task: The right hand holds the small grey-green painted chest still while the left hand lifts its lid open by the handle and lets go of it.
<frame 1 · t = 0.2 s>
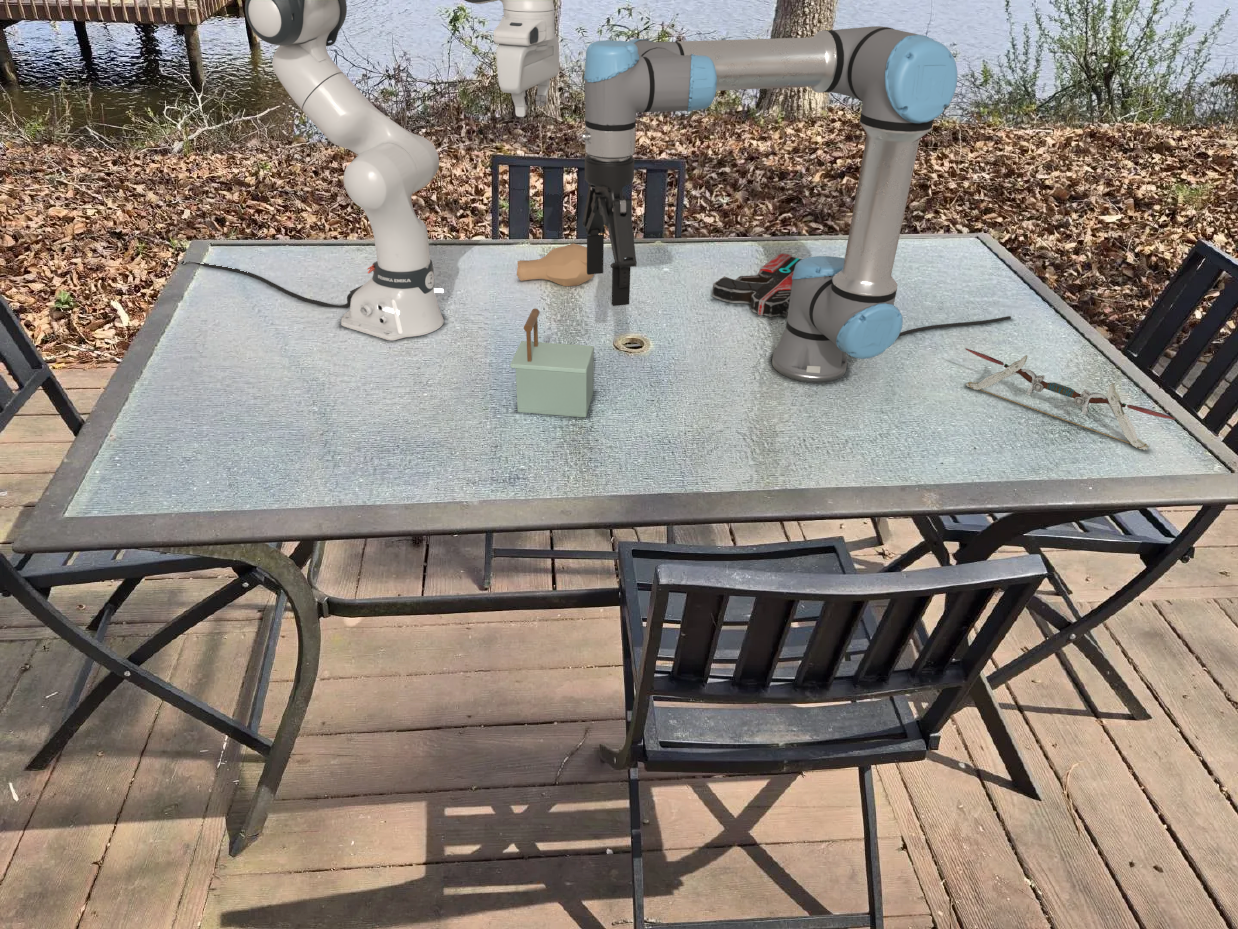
left hand: (531, 110, 161), 48 cm above the table, tool pointing down, fingers open, 8 cm apart
right hand: (607, 288, 144), 28 cm above the table, tool pointing down, fingers open, 13 cm apart
gun: (770, 291, 216), on the table
bow: (1051, 416, 168), on the table
squash: (556, 281, 218), on the table
chest: (556, 402, 168), on the table
lid: (552, 338, 161), point 13 cm above the table, hinge at 0.0°
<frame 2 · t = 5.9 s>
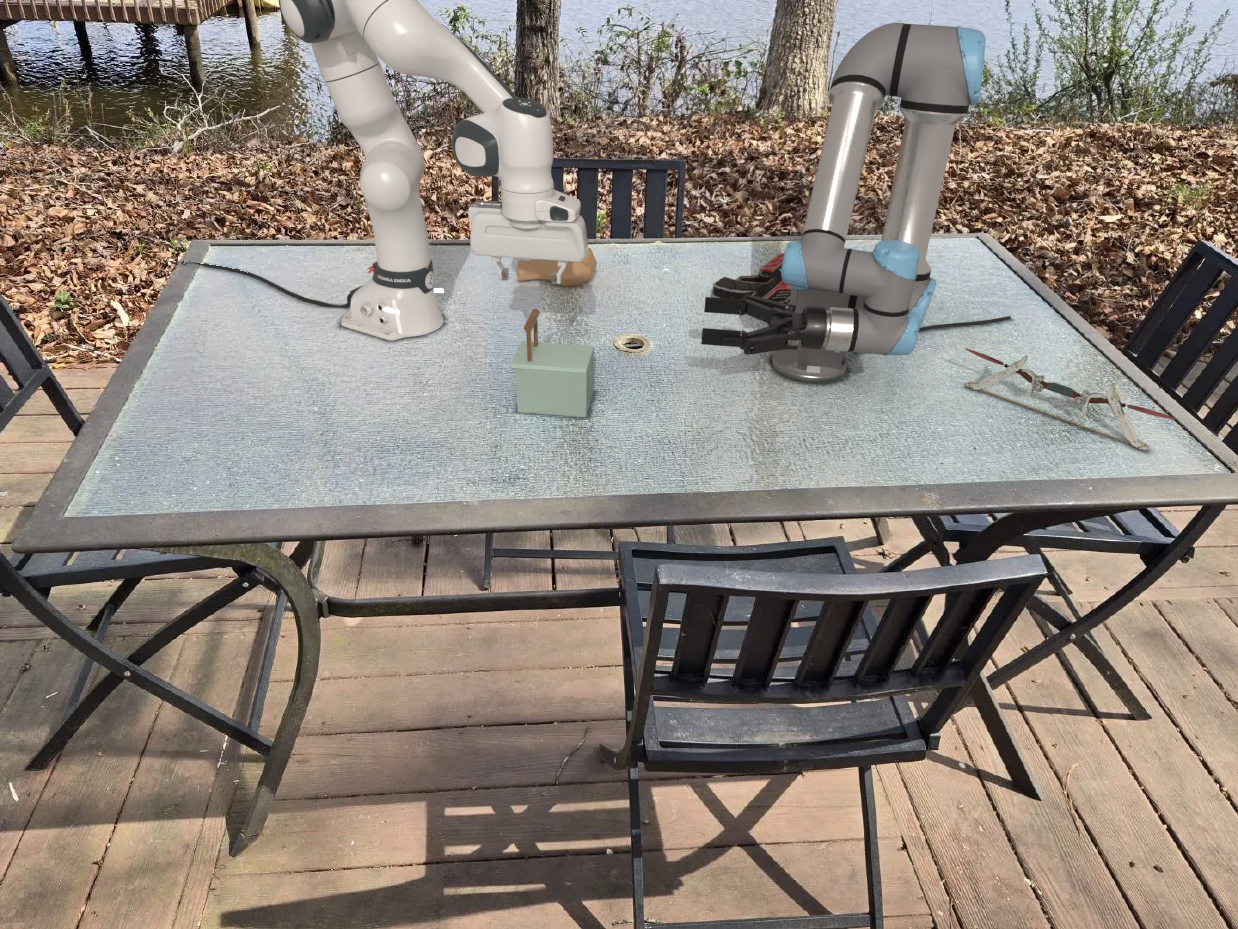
left hand: (530, 281, 155), 24 cm above the table, tool pointing down, fingers open, 8 cm apart
right hand: (703, 319, 155), 19 cm above the table, tool horizontal, fingers open, 13 cm apart
nothing on the table moved.
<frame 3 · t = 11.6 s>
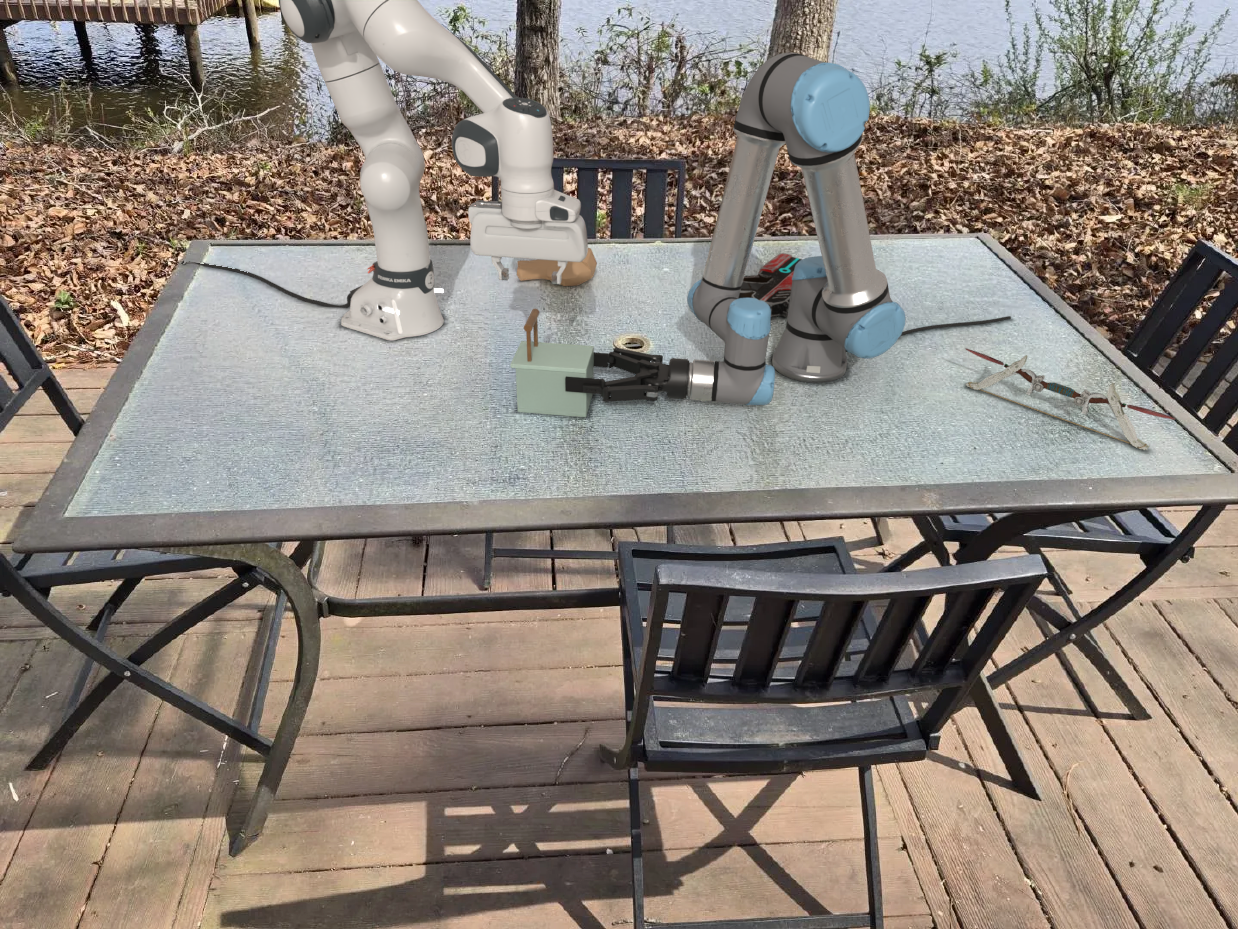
left hand: (530, 281, 155), 24 cm above the table, tool pointing down, fingers open, 8 cm apart
right hand: (570, 370, 164), 7 cm above the table, tool horizontal, fingers closed on chest, 10 cm apart
chest: (556, 402, 168), on the table, touching right hand
everything else where it was.
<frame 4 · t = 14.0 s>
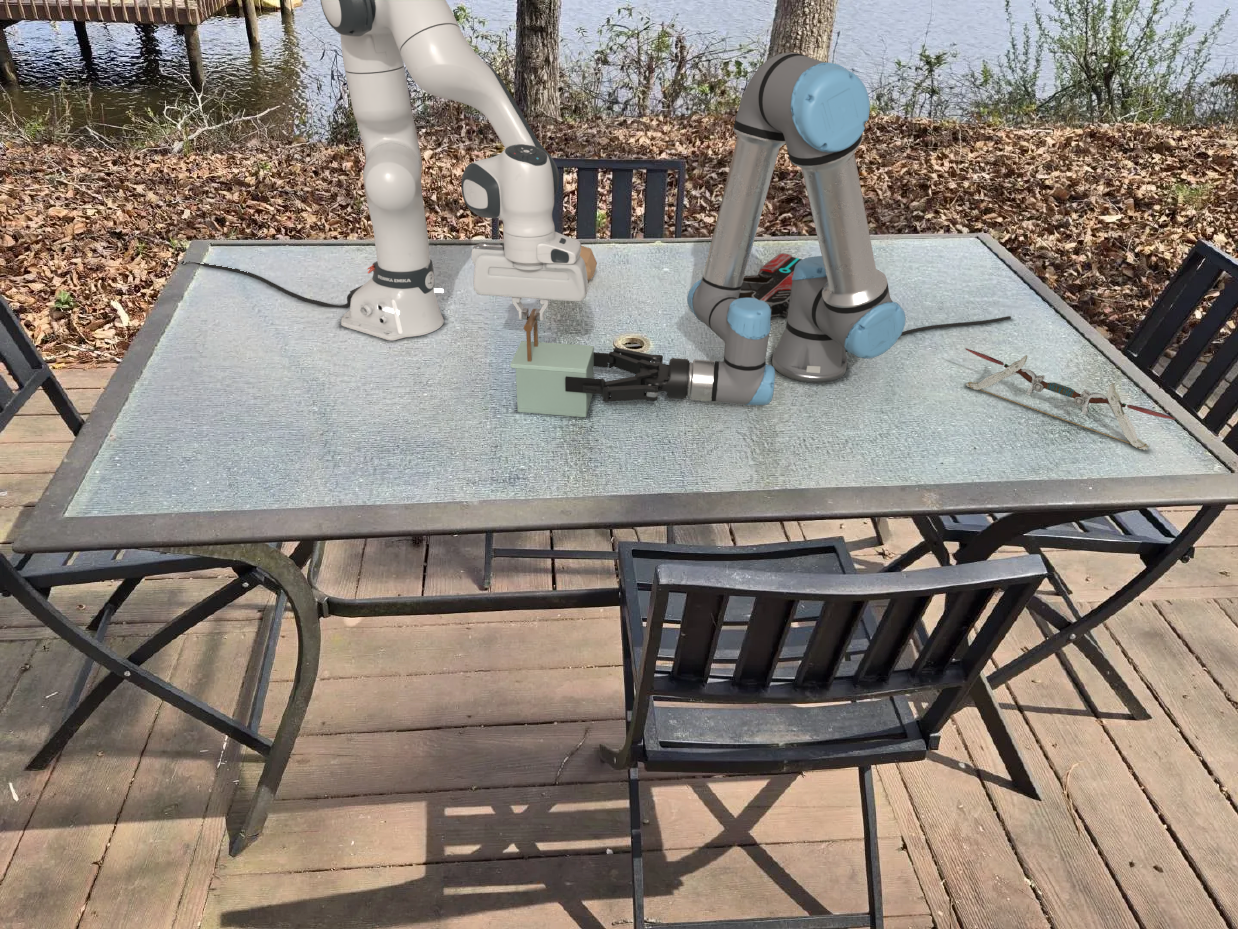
left hand: (531, 319, 159), 17 cm above the table, tool pointing down, fingers closed on lid
right hand: (570, 370, 164), 7 cm above the table, tool horizontal, fingers closed on chest, 10 cm apart
chest: (556, 402, 168), on the table, touching right hand
lid: (552, 338, 161), point 13 cm above the table, hinge at -0.1°, touching left hand
everything else where it was.
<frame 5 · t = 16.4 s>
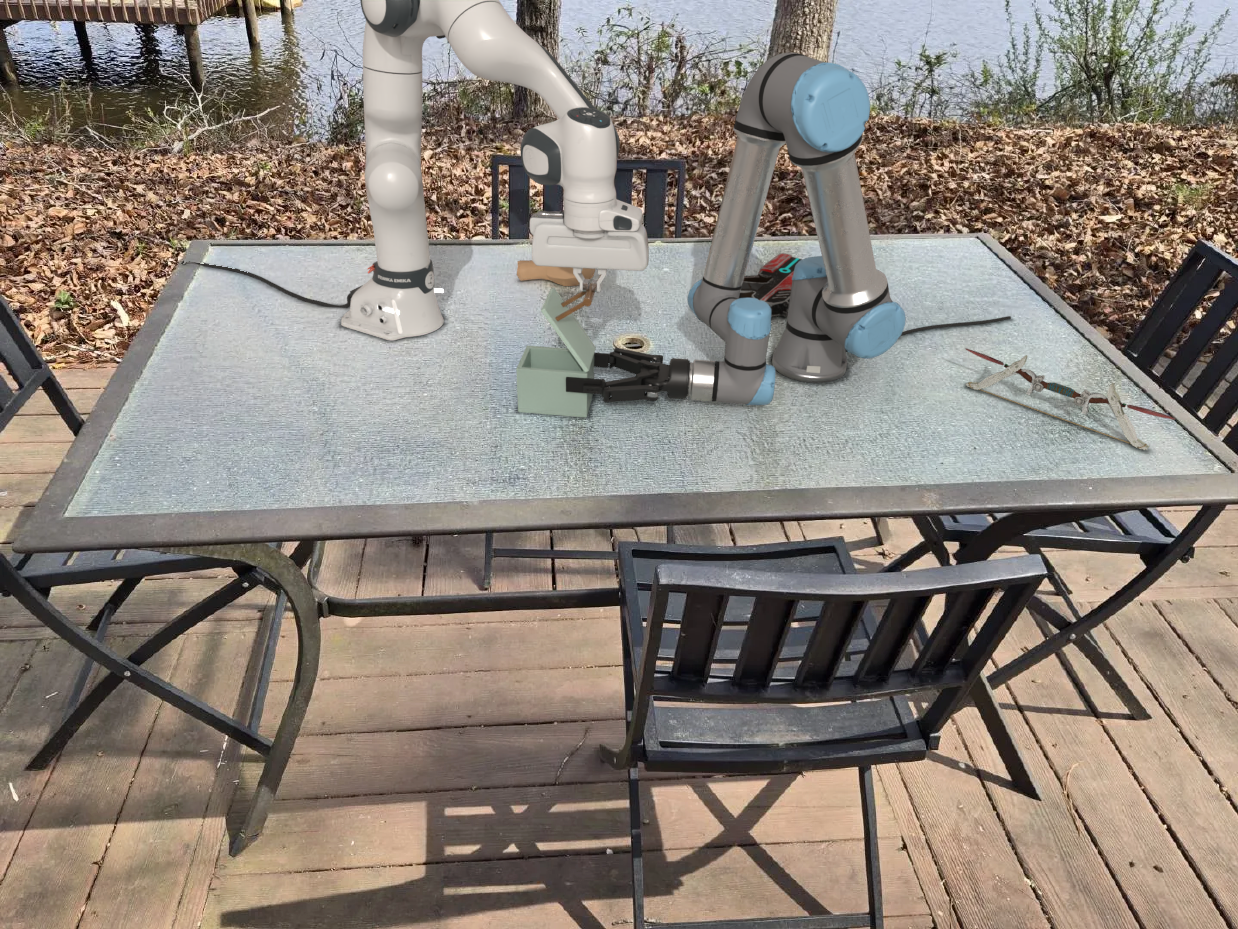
left hand: (590, 290, 155), 23 cm above the table, tool pointing down, fingers closed, pressing on lid
right hand: (570, 370, 164), 7 cm above the table, tool horizontal, fingers closed on chest, 10 cm apart
chest: (556, 402, 168), on the table, touching right hand
lid: (586, 320, 158), point 17 cm above the table, hinge at 55.5°, touching left hand
everything else where it was.
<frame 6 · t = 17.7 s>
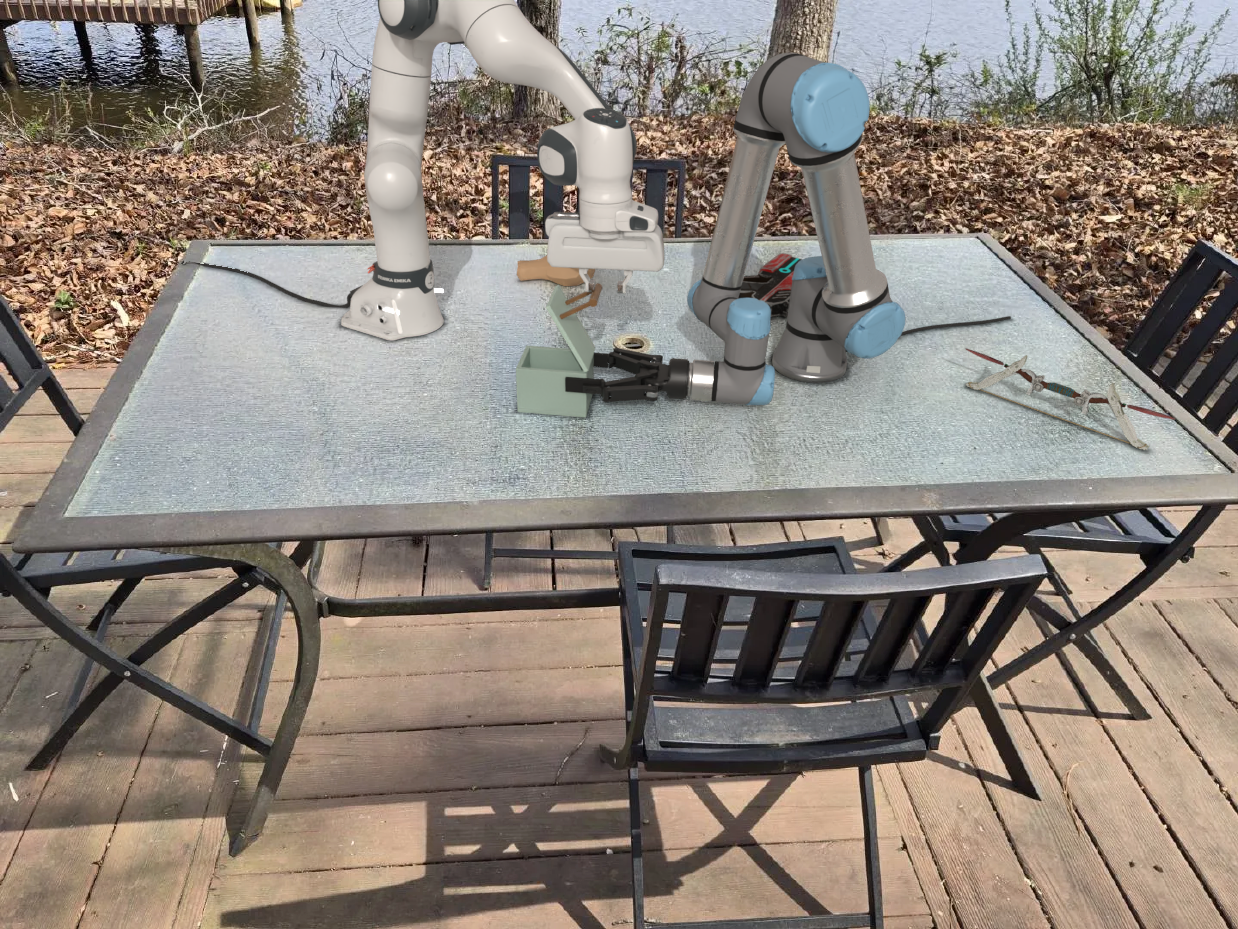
left hand: (606, 291, 154), 23 cm above the table, tool pointing down, fingers open, 4 cm apart
right hand: (570, 370, 164), 7 cm above the table, tool horizontal, fingers closed on chest, 10 cm apart
chest: (556, 402, 168), on the table, touching right hand
lid: (589, 320, 158), point 18 cm above the table, hinge at 60.3°, touching left hand
everything else where it was.
when the right hand's fingers open (7 cm above the table, at t = 21.6 s): chest stays where it is, on the table.
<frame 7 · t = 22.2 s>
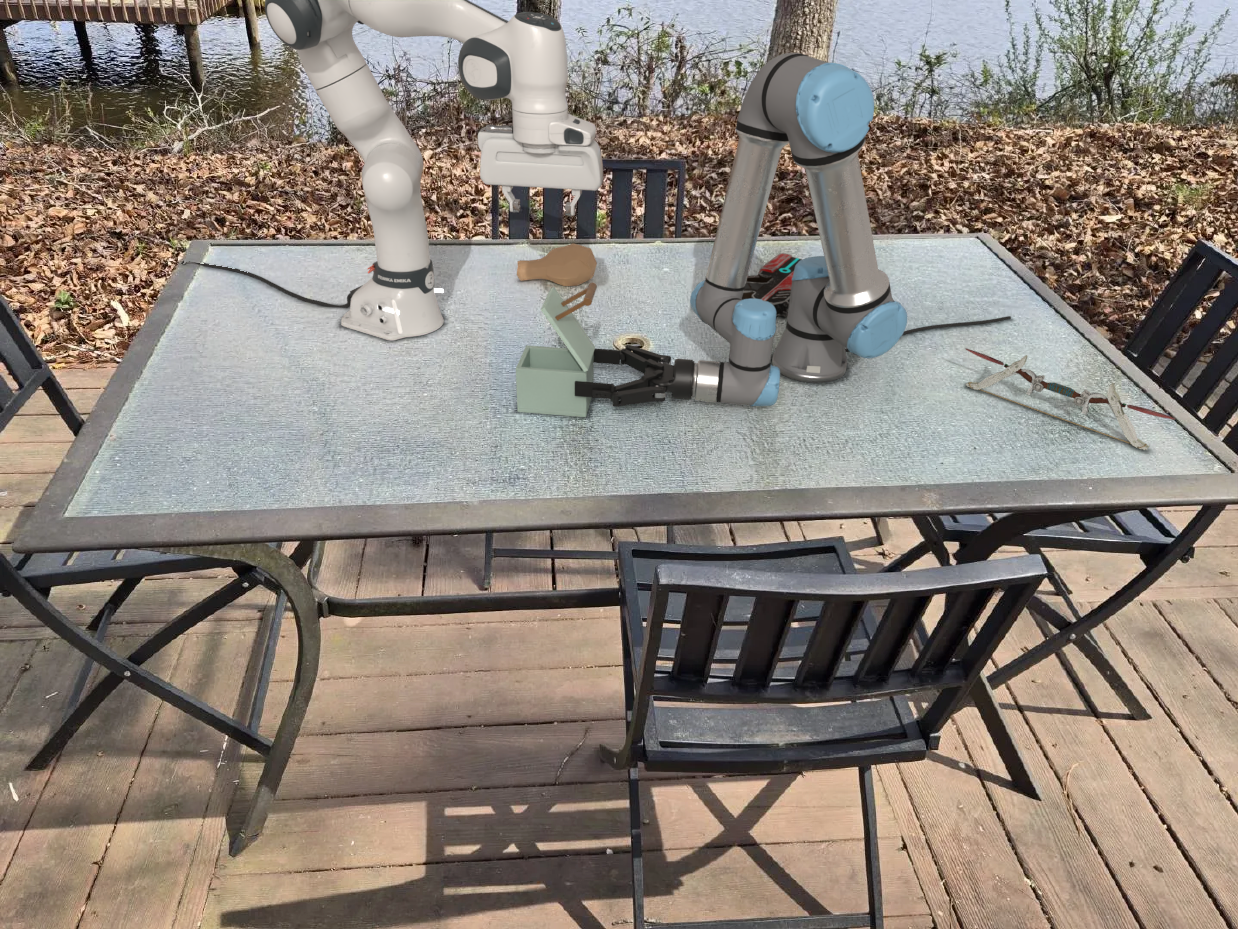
left hand: (542, 212, 148), 37 cm above the table, tool pointing down, fingers open, 8 cm apart
right hand: (580, 371, 164), 7 cm above the table, tool horizontal, fingers open, 13 cm apart
chest: (556, 402, 168), on the table
lid: (586, 319, 158), point 18 cm above the table, hinge at 56.3°
everything else where it was.
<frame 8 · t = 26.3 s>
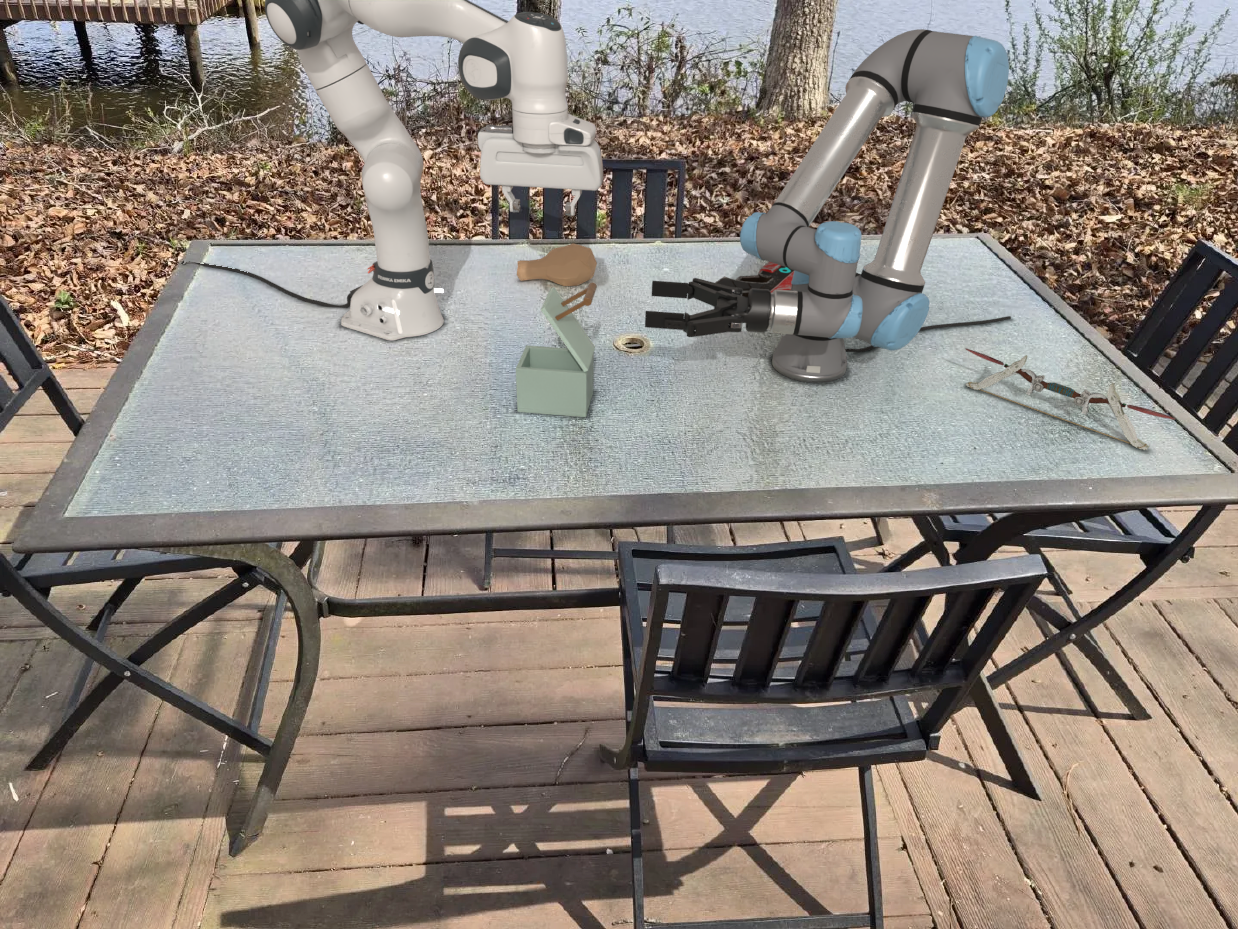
left hand: (542, 212, 148), 37 cm above the table, tool pointing down, fingers open, 8 cm apart
right hand: (648, 303, 155), 22 cm above the table, tool horizontal, fingers open, 13 cm apart
nothing on the table moved.
at the end: lid at +56° (first picture: +0°); the left hand is holding nothing; the right hand is holding nothing; chest tilted 0°; chest never tilted more than 1° during the clip; chest moved 0.1 cm from its start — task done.
